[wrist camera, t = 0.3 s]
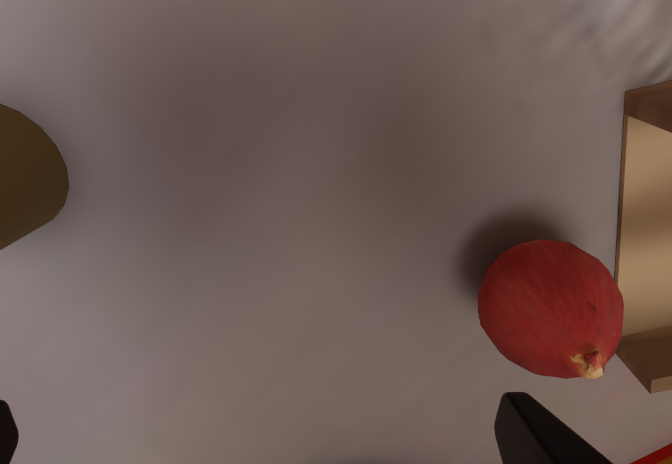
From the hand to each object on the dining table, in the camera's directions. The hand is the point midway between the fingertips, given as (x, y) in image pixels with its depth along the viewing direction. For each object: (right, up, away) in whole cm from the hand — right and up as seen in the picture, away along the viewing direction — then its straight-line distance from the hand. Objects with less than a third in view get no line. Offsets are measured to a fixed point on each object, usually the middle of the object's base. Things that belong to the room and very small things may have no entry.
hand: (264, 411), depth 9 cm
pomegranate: (+10, +2, +16) cm, 19 cm away
